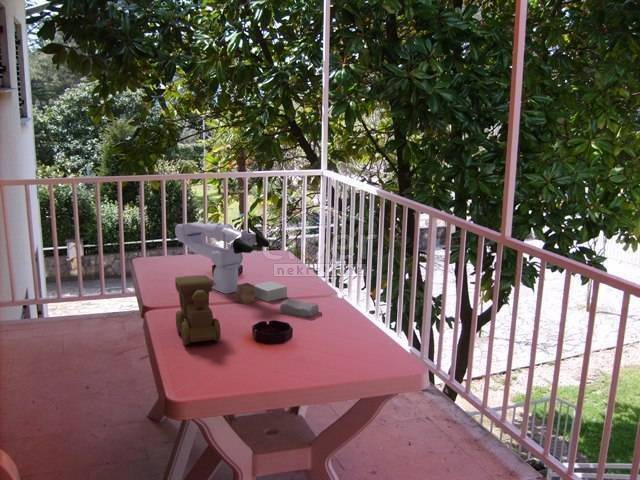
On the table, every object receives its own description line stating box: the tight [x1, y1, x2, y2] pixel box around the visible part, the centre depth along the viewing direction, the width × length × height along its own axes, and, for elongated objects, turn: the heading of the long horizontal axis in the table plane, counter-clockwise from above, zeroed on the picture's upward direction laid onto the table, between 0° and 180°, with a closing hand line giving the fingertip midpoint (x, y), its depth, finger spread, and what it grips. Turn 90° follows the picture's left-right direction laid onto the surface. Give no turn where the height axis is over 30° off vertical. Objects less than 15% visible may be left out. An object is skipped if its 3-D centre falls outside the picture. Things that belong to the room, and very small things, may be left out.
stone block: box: [279, 298, 320, 319], centre depth 227 cm, size 12×5×10 cm
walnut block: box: [236, 282, 256, 305], centre depth 236 cm, size 4×4×6 cm
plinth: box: [253, 280, 288, 303], centre depth 242 cm, size 9×9×4 cm
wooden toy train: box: [174, 274, 221, 346], centre depth 201 cm, size 20×11×17 cm, turn 21°
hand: (259, 247), depth 231 cm, fingers open, 7 cm apart
